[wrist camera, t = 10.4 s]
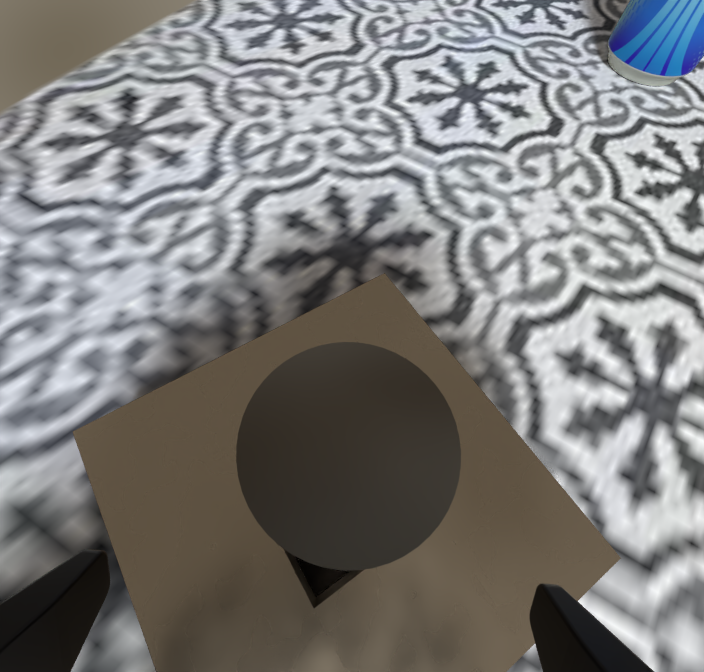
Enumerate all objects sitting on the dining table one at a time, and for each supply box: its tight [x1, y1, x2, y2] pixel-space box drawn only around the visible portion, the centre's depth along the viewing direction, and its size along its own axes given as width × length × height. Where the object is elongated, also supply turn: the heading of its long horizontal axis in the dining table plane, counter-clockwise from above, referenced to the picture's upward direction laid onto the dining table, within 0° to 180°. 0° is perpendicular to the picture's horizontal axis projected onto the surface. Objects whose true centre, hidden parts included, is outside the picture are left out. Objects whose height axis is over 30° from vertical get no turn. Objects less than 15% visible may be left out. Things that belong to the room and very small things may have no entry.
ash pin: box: [236, 342, 461, 570], centre depth 14 cm, size 5×5×13 cm
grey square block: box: [73, 273, 620, 672], centre depth 18 cm, size 16×16×4 cm
